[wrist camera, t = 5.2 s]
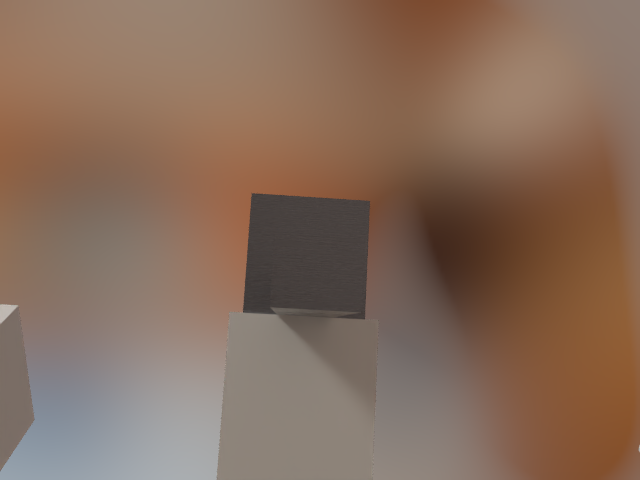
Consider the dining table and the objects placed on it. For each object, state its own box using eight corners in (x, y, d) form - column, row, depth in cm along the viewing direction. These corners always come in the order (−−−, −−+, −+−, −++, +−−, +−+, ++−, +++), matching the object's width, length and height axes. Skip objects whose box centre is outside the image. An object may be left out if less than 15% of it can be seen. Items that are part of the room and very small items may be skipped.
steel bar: (211, 303, 14) (227, 105, 15) (251, 315, 29) (258, 217, 30) (417, 315, 14) (423, 119, 15) (350, 320, 30) (354, 223, 30)
